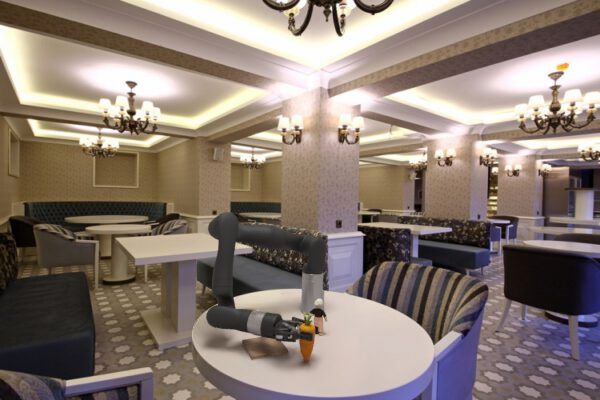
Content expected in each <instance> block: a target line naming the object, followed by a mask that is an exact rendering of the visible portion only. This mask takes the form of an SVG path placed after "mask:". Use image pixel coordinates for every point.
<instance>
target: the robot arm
mask: <svg viewBox="0 0 600 400" xmlns="http://www.w3.org/2000/svg"><path fill="white" fill-rule="evenodd" d="M207 231H208V233H209V235H210V236H211V237H212V238H213V239H215V240H217V241H218V244H217V245H218V246H217V253H216V257H215V262H214V264H213V265H214V266H213V270H212V276H211V277H212V278H211V279H212V280H211V295H212V297H213V298H215V299H216V301H217V304H215V305H213V306H211V307H210V308H209V309H208V310H207V312H206V315H205V318H206V322H207V324H208V325H209V326H210V327H212V328H214V329H220V330H232V331H233V330H234V331H238V332H242V333H247V334H251V335H253V336H257V337H266V338H271V339H276V341H281V342H283V343H284V342H287V343H296V342H297V341H299V340H300V339H302V340H307V341H312V340H313V333H310V332H305V331H300V330H299V327H300V326H301V324H303V323H305V321H304V319H302V318H298V317H295V316H292V317H291V319H283V317H282V315H281V314H280V313H275V312H270V311H263V310H257V311H254V310H248V309H249V308H236V303H235V298H234V294H233V288H234V287H233V285H234V284H233V283H234V282H233V280H234V279H233V277H234V276H233V275H234V262H235V261H234V260H235V250H236V243H244V244H247V245H252V246H255V247H260V248H264V249H269V250H277V251H288V250H289V251H292V252H297V253H300V254H303V255H305V256H307V263H305V264H304V265H303V266H302V273H301V276H302V278H301V303H300V304H301V305H300V307H301V308H300V311H301V312H302V314H303V313H304V312H305V313H306V315H309V313H310V311H311V310H312V309H314V308H316V306H315V305H314V302H315V301H316V300H317V299H322V300H323V304H322V308H320V309H322V310H324V311H325V290H324V289H323V287H324V284H323V283H324V269H325V268H326V261H327V242H326V241H325V239H324V238H322V237H320V236H315V235H307V234H297V233H293V232H291V231H288V230H287V229H284V228H280V227H278V226H273V225H269V224H268V225H267V224H243V223H242V224H241V223H239V220H238V217H237V216H236V215H235V214H234V213H232V212H230V211H224V212H222V213H220V214H218V215H217V216H216V217H214V218H213V219H211V221H210V222H209V223H208V226H207ZM313 316H315V314H313ZM318 332H319V327H318V326H315V335H319V333H320V332H319V333H318Z"/></svg>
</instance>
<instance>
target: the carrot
mask: <svg viewBox="0 0 600 400" xmlns="http://www.w3.org/2000/svg"><path fill="white" fill-rule="evenodd" d="M302 314H303V320H304V321H305V323H303V324H301V326H300V327H299V330H300V331H305V332H310V333H313V340H312V341H307V340H302V339H300V340H298V343H299V351H300V354H301V356H302V358H303V360H304V362H305V363H307V362H308V361H309V359H310V358H311V355H312V354H313V349H314V346H315V338H316V334H315V326H314V324H313V323H314V320H312V319H311V318H312V317H313V316H314V315H313V314H308V316H307V314H306V313H305V312H304V313H303V312H302Z"/></svg>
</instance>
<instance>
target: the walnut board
mask: <svg viewBox="0 0 600 400" xmlns="http://www.w3.org/2000/svg"><path fill="white" fill-rule="evenodd" d="M241 344H242V346H243V347H244V350H245V351H246V352H247V354H248V356H249V358H250V360H252V361H253V360H259V359H263V358H268V357H273V356H279V355H283V354H289V349H288V348H287V346H286V345H285V343H284V342H283V341H276V339H271V338H266V337H261V336H257V337H252V338H245V339H244V338H243V339H241Z"/></svg>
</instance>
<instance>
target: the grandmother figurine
mask: <svg viewBox="0 0 600 400" xmlns="http://www.w3.org/2000/svg"><path fill="white" fill-rule="evenodd" d="M322 304H323V300H322V299H317V300H316V301H315V302H314V305H315V306H316V308H314V309H312V310H311V311H310V313H309V314H315V315H313V316H314V317H313V325H314V326H318V327H319V332H318V335H319V336H325V335H326V332H325V331H324V322H328V321H329V320H328V317H327V313H326V312H325V309H324V310H322V309H320V308H322ZM309 314H308V315H309Z"/></svg>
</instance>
